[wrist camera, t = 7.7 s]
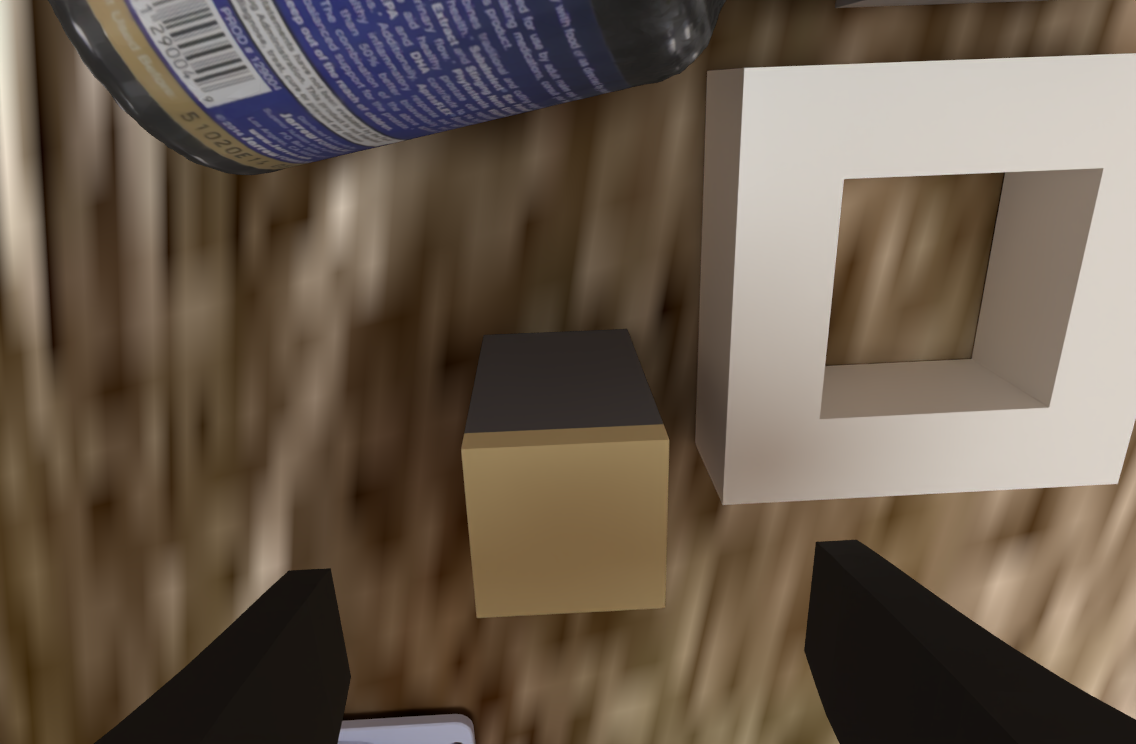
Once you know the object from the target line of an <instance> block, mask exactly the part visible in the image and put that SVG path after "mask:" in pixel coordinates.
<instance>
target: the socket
mask: <svg viewBox="0 0 1136 744" xmlns="http://www.w3.org/2000/svg"><path fill="white" fill-rule="evenodd" d="M999 172H1005V176H1004V182H1003V187H1002V193H1001V198H1000V204H999V210H998V215H997V221H996V226H995V232H994V237H993V243H992V249H991V254H990V260H989V265H988V271H987V276H986V282H985V287H984V293H983V299H982V304H981V310H980V315H979V321H978V326H977V332H976V337H975V343H974V349H973V354H972V359H959V360H938V361H918V362H897V363H877V364H856V365H836V366H825V361H826V351H827V342H828V332H829V322H830V312H831V302H832V292H833V282H834V272H835V263H836V253H837V243H838V233H839V223H840V213H841V203H842V193H843V184H844V179H855V178H879V177H903V176H927V175H951V174H975V173H999ZM1135 419H1136V53H1131V54H1104V55H1078V56H1051V57H1024V58H998V59H971V60H944V61H918V62H891V63H864V64H838V65H811V66H784V67H758V68H738V69H725V70H711V71H707V91H706V122H705V153H704V184H703V215H702V245H701V276H700V307H699V338H698V369H697V400H696V431H695V444H696V447H697V449H698V451H699V453H700V456H701V458H702V460H703V462H704V464H705V467H706V469H707V471H708V473H709V476H710V478H711V480H712V482H713V485H714V487H715V489H716V491H717V493H718V496H719V498H720V500H721V502H722V505H732V504H750V503H769V502H787V501H806V500H825V499H843V498H862V497H880V496H899V495H917V494H936V493H955V492H973V491H992V490H1010V489H1029V488H1047V487H1066V486H1085V485H1103V484H1118V480H1119V477H1120V473H1121V469H1122V466H1123V462H1124V459H1125V455H1126V451H1127V448H1128V444H1129V440H1130V437H1131V433H1132V430H1133V426H1134V422H1135Z"/></svg>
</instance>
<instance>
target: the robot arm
mask: <svg viewBox="0 0 1136 744" xmlns="http://www.w3.org/2000/svg"><path fill="white" fill-rule="evenodd" d="M804 651H805V654H806V657H807V660H808V663H809V666H810V669H811V672H812V675H813V678H814V682H815V685H816V687H817V690H818V693H819V696H820V699H821V702H822V704H823V707H824V710H825V713H826V716H827V718H828V720H829V722H830V724H831V726H832V728H833V731H834V733H835V735H836V737H837V739H838V741H839V743H840V744H1136V720H1135V719H1133V718H1131V717H1130V716H1128V715H1126V714H1124V713H1122V712H1120V711H1119V710H1117V709H1115V708H1113V707H1111V706H1109V705H1108V704H1106V703H1104V702H1102V701H1100V700H1099V699H1097V698H1095V697H1093V696H1091V695H1089V694H1088V693H1086V692H1084V691H1083V690H1081V689H1079V688H1077V687H1076V686H1074V685H1072V684H1071V683H1069V682H1067V681H1066V680H1064V679H1062V678H1060V677H1059V676H1057V675H1056V674H1054V673H1052V672H1051V671H1049V670H1048V669H1046V668H1044V667H1043V666H1041V665H1040V664H1038V663H1036V662H1035V661H1033V660H1032V659H1030V658H1028V657H1027V656H1025V655H1024V654H1022V653H1020V652H1019V651H1017V650H1016V649H1014V648H1012V647H1011V646H1009V645H1008V644H1006V643H1005V642H1003V641H1002V640H1000V639H999V638H997V637H996V636H994V635H993V634H991V633H990V632H988V631H987V630H985V629H984V628H982V627H981V626H979V625H978V624H976V623H975V622H973V621H972V620H970V619H969V618H968V617H966V616H965V615H963V614H962V613H960V612H959V611H957V610H956V609H955V608H953V607H952V606H950V605H949V604H947V603H946V602H945V601H943V600H942V599H940V598H939V597H937V596H936V595H935V594H933V593H932V592H930V591H929V590H928V589H926V588H925V587H923V586H922V585H921V584H919V583H918V582H916V581H915V580H914V579H912V578H911V577H909V576H908V575H907V574H905V573H904V572H903V571H901V570H900V569H898V568H897V567H896V566H894V565H893V564H891V563H890V562H889V561H887V560H886V559H884V558H883V557H881V556H880V555H879V554H877V553H876V552H874V551H873V550H871V549H870V548H868V547H867V546H865V545H864V544H862V543H861V542H859V541H858V540H843V541H825V542H816V547H815V556H814V565H813V574H812V584H811V593H810V602H809V611H808V621H807V630H806V639H805V648H804ZM350 679H351V675H350V669H349V664H348V659H347V653H346V648H345V643H344V637H343V632H342V627H341V621H340V616H339V611H338V605H337V600H336V595H335V589H334V584H333V579H332V573H331V568H330V569H311V570H293V571H288V572H287V573H286V574H285V575H284V576H282V577H281V578H280V579H279V580H278V581H277V582H276V583H275V584H274V585H272V586H271V587H270V588H269V589H268V590H267V591H266V592H265V593H264V594H263V595H262V596H261V597H260V598H259V599H258V600H257V601H256V602H254V603H253V604H252V605H251V606H250V607H249V608H248V609H247V610H246V611H245V612H244V613H243V614H242V615H241V616H240V617H239V618H238V619H237V620H236V621H235V622H233V623H232V624H231V625H230V626H229V627H228V628H227V629H226V630H225V631H224V632H223V633H222V634H221V635H219V636H218V637H217V638H216V639H215V640H214V641H213V642H212V643H211V644H210V645H209V646H208V647H206V648H205V649H204V650H203V651H202V652H201V653H200V654H199V655H198V656H197V657H196V658H195V659H193V660H192V661H191V662H190V663H189V664H188V665H187V666H186V667H185V668H184V669H183V670H181V671H180V672H179V673H178V674H177V675H176V676H174V677H173V678H172V679H171V680H170V681H168V682H167V683H166V684H165V685H164V686H163V687H161V688H160V689H159V690H158V691H157V692H156V693H154V694H153V695H152V696H151V697H150V698H149V699H147V700H146V701H145V702H144V703H143V704H141V705H140V706H139V707H138V708H137V709H136V710H134V711H133V712H132V713H131V714H130V715H129V716H127V717H126V718H125V719H124V720H123V721H121V722H120V723H119V724H118V725H117V726H116V727H114V728H113V729H112V730H110V731H109V732H108V733H107V734H105V735H104V736H103V737H102V738H100V739H99V740H98V741H97V742H95V743H94V744H455V743H454V742H461V744H475V735H474V726H473V723H472V721H471V720H470V719H469V718H468V717H467V716H464V715H462V714H444V715H428V716H411V717H395V718H379V719H362V720H346V721H342V720H343V715H344V710H345V705H346V700H347V695H348V689H349V684H350Z"/></svg>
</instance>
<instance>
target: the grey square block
mask: <svg viewBox="0 0 1136 744" xmlns="http://www.w3.org/2000/svg"><path fill="white" fill-rule="evenodd" d="M1017 1H1046V0H836V3H835V8H848V7H876V6H904V5H933V4H961V3H989V2H1017Z"/></svg>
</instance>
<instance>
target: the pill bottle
mask: <svg viewBox="0 0 1136 744" xmlns="http://www.w3.org/2000/svg"><path fill="white" fill-rule="evenodd" d="M48 1H49V3H50V4H51V6H52V8H53V10H54V13H55V15H56V16H57V18H58V19H59V21H60V23H61V25H62V27H63V29H64V31H65V33H66V35H67V36H68V38H69V40H70V41H71V42H72V44H73V45H74V47H75V48H76V50H77V52H78V54H79V55H80V57H81V59H82V61H83V62H84V64H85V65H86V66H87V67H88V69H89V70H90V71H91V73H92V74H93V76H94V77H95V78H96V79H97V80H98V81H100V82H101V83H102V84H103V86H104V87H105V88H106V89H107V90H108V91H109V92H110V94H111V95H112V97H113V98H114V100H115V101H116V103H117V104H118V105H119V106H120V108H121V109H122V110H124V111H125V112H126V113H127V114H129V115H130V116H131V117H132V118H133V119H134V120H136V121H137V123H138V124H139V125H140V126H141V127H142V128H144V129H145V130H146V131H147V132H148V133H149V134H151V135H152V136H154V137H155V138H156V139H158V140H159V141H161V142H163V143H164V144H165V145H166V146H167V147H168V148H170V149H173V150H174V151H176V152H177V153H179V154H180V155H183V156H184V157H186V158H187V159H188V160H190V161H192V162H194V163H196V164H200V165H203V166H206V167H210V168H213V169H216V170H219V171H222V172H225V173H229V174H239V175H256V174H263V173H270V172H275V171H279V170H282V169H285V168H289V167H293V166H298V165H302V164H306V163H311V162H315V161H320V160H324V159H328V158H332V157H336V156H341V155H345V154H349V153H353V152H357V151H362V150H366V149H371V148H375V147H380V146H384V145H388V144H392V143H397V142H401V141H405V140H409V139H413V138H418V137H422V136H426V135H430V134H435V133H439V132H443V131H447V130H452V129H456V128H460V127H465V126H469V125H473V124H477V123H482V122H486V121H490V120H494V119H499V118H503V117H507V116H511V115H516V114H520V113H524V112H528V111H532V110H537V109H541V108H545V107H549V106H553V105H557V104H561V103H565V102H570V101H574V100H579V99H584V98H588V97H592V96H596V95H600V94H604V93H609V92H614V91H619V90H623V89H626V88H630V87H635V86H639V85H645V84H651V83H658V82H661V81H663V80H665V79H667V78H669V77H671V76H673V75H676V74H680V73H681V72H682V71H683V70H685V69H686V68H687V67H688V65H690V64H691V63H692V62H693V61H694V60H695V59H696V58H697V57H698V56H699V55H700V54H701V53H702V52H703V50H704V49H705V48H706V47H707V46H708V44H709V41H710V38H711V36H712V33H713V30H714V28H715V25H716V22H717V20H718V15H719V13H720V10H721V8H722V6H723V5H724V3H725V1H726V0H48Z"/></svg>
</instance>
